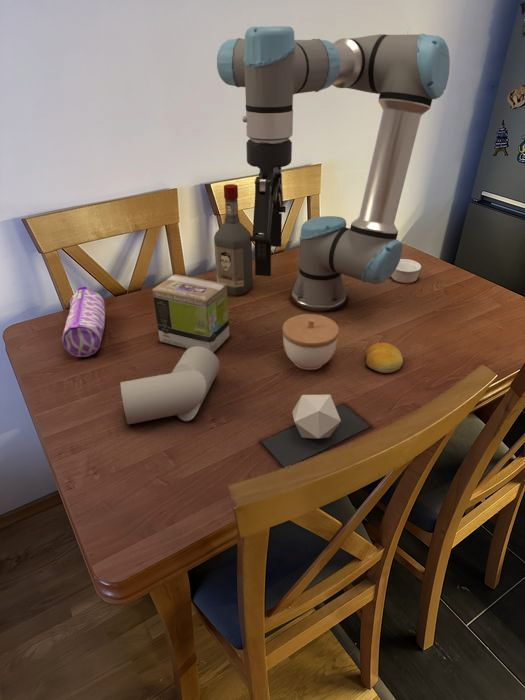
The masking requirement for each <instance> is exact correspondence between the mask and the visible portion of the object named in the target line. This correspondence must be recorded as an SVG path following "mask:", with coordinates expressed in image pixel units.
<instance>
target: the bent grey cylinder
mask: <svg viewBox="0 0 525 700" xmlns="http://www.w3.org/2000/svg"><path fill="white" fill-rule="evenodd" d="M220 367H221V365H220V360H219V359H218V357H217V355H216V354H215V353H214V352H211V351H210V350H208V349H206V348H204V347H199V346H195V347H191V348H189V349H187V348H186V350H185V351H184V353H183V354H182V356H181V357H180V359H179V360H178V362H177V363H176V365H175V367H174V368H173V370H172V372H171V373H164V374H159V375H154V376H147V377H142V378H137V379H131V380H126V381H121V382H120V393H121V398H122V399H121V400H122V404H123V405H122V406H123V410H124V415H125V419H126V420H125V421H126V423H127V425H133V424H138V423H143V422H149V421H153V420H158V419H164V418H167V417H168V418H169V417H172V416H173V417H175V416H177V418H178V419H180V420H181V421H183V422H188V421H191V420H193V419H194V418H195V417H196V415H197V414H198V412H199V410H200V408H201V406H202V404H203V402H204V400H205V398H206V396H207V394H208V393H209V391H210V388H211V386H212V384H213V383H214V381H215V379H216V377H217V375H218V373H219V371H220Z"/></svg>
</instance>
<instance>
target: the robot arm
mask: <svg viewBox="0 0 525 700" xmlns="http://www.w3.org/2000/svg"><path fill="white" fill-rule="evenodd" d="M450 58H451V57H450V51H449V46H448V43H447V42H446V40H445V39H444V38H443V37H442V36H439V35H433V34H432V35H431V34H425V33H421V34H384V33H383V34H381V33H379V34H373V35H366V36H359V37H351V38H347V37H345V38H339V39H337V40H335V41H334V42H331V41H329V40H326V39H321V38H312V39H295V31H294V29H293V27H291V26H287V25H286V26H284V25H283V26H282V25H281V26H279V25H276V26H274V25H273V26H269V25H268V26H250V27H248V28H247V29H246V30H245V33H244V38H242V37H241V38H240V37H237V38H230V39H226V40H225V41H224V42H223V43H222V44H221V45H220V47H219V49H218V51H217V55H216V69H217V73H218V75H219V78H220V80H222V82H223V83H225V84H226V85H228V86H231V87H232V86H233V87H237V88H244V89H245V90H244V93H245V115H244V116H242V122H243V123H246V127H245V129H246V130H245V131H246V137H247V138H249V139H248V140H247V141H246V143H245V144H246V145H245V146H246V148H245V149H246V163H247V164H248V165H249V166H251V167H254V168H258V169H259V173H258V176H256V177H255V179H254V203H253V205H254V206H253V222H252V234H251V236H250V241H252V242H254V275H255V276H260V277H271V276H272V247H273V248H275V247H276V248H281V247H282V237H283V236H282V235H283V234H282V233H283V232H282V228H283V227H282V226H283V223H282V222H283V214H282V213H286V210H287V209H286V208H287V207H286V205H285V206H284V204H285V203H284V192H283V173H282V168H284V167H287V166H289V165H290V164H291V163H292V155H293V142H292V140H291V139H290V138H291V137H292V136H293V133H294V132H293V129H294V128H293V126H294V109H293V107H294V106H293V104H294V103H293V102H294V95H298V94H304V93H312V92H314V93H318V92H320V91H322V90H325V89H328V88H330V87H332V86H333V87H335V88H337V89H350V90H355V91H359V92H364V93H370V94H377V95H378V99H377V103H378V104H379V106H380V107H381V109H382V113H381V117H380V121H379V126H378V131H377V134H376V135H377V136H376V140H375V145H374V149H373V152H372V157H371V160H370V161H371V162H370V165H369V166H370V167H369V170H368V175H367V180H366V184H365V188H364V193H363V197H362V202H361V207H360V211H359V215H358V217H357V218H356V219H354V220H353V221H351V223H350V227H347V220H346V219H345V218H344V217H341V216H336V215H335V216H334V215H326V216H325V215H323V216H318V217H313V218H310V219H307V220H306V221H304V222H303V224H301V227H300V234H299V260H298V261H299V266H298V267H299V268H298V275H297V278H296V280H295V283H294V285H293V287H292V290H291V301H292V303H293V304H294V305H295V306H297V307H298V308H301V309H302V310H306V311H311V312H317V313H319V312H320V313H321V312H331V311H335V310H337V309H340V308H341V307H343V306H344V305H345V304H346V299H347V292H346V288H345V284H344V280H343V277H342V275H343V276H346V277H348V278H349V277H350V278H353V279H356V280H359V281H361V282H363V283H368V284H369V283H370V284H373V285H381V284H384V283H385V282H387V281H388V280H389V279H390V278H391V275H392V274H393V272H394V271H395V269H396V268H397V266H398V264H399V261H400V259H402V255H403V248H404V246H403V243H402V242H401V241H400V240H399V239H398V235H399V230H398V228H397V227H396V224H395V221H396V217H397V213H398V209H399V204H400V202H401V197H402V193H403V190H404V185H405V181H406V178H407V177H406V176H407V173H408V169H409V165H410V162H411V157H412V155H413V149H414V147H415V141H416V138H417V135H418V134H417V133H418V130H419V126H420V122H421V117H423V115H425V113H427V112H428V111H429V110H431V107H432V103H433V100H437V99H440V98H441V97H442V96H443V95H444V92H445V90H446V88H447V87H448V86H447V85H448V82H449V77H450V67H451V59H450Z"/></svg>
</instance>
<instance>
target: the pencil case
mask: <svg viewBox="0 0 525 700" xmlns="http://www.w3.org/2000/svg"><path fill="white" fill-rule="evenodd" d="M76 289H77V291H76V292H75V293H74V294H73V295H72V297H71V298H70V301H69V302H68V303H67V304H68V307H69V313H68V315H67V318H66V320H65V321H66V322H65V325H64V328H63V332H62V339H61V341H62V346H63V347H64V349H65V350H66V352H67V353H68V354H70V355H71V356H73V357H76V358H88V357H90V356H93V355H94V354H96V353H97V352H98V351H99V349H100V347H101V343H102V340H103V334H104V331H105V327H106V326H105V325H106V303H105V300H104V298H103V296H101V294H99V293H97V292H96V291H94V290H90V289H88V287H87V286H86V285H81V286H78V287H77V288H76Z"/></svg>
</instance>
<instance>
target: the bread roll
mask: <svg viewBox="0 0 525 700" xmlns="http://www.w3.org/2000/svg"><path fill="white" fill-rule="evenodd" d="M365 356H366V357H365V358H366V360H365V364H366V366H367V367H368V368H370V369H371V370H373V371H376V372H379V373H382V374H390V373H394V372H396V371H398V370H400V369H401V367H402V366H403V362H404V359H403V355H402V352H401V351H400V350H399V348H398V347H397V346H395V345H393V344H391V343H388V342H377V343H375V344H373V345H370V346H369V347H368V348H367V350H366V353H365Z"/></svg>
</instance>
